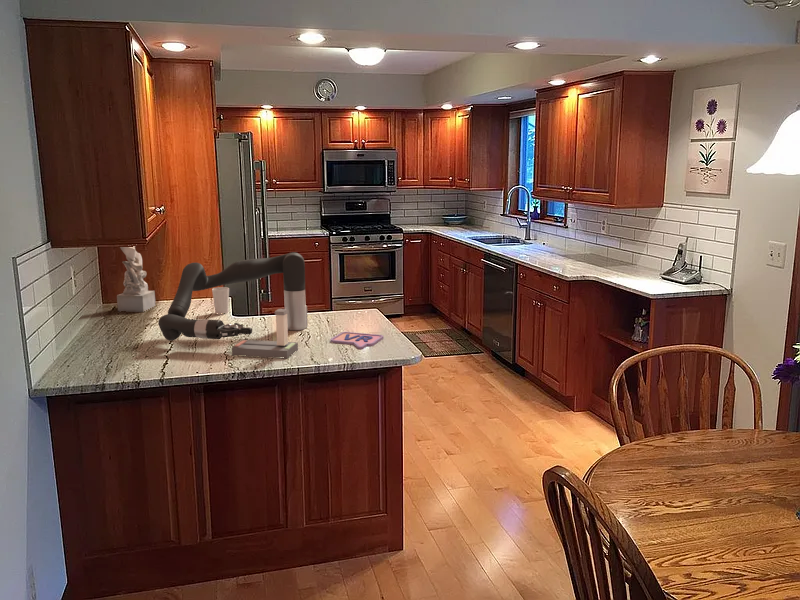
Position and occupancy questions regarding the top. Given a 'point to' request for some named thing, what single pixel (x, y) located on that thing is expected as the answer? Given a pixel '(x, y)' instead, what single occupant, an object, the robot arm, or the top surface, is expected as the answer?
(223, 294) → the cup
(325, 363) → the top surface
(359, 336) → the icon
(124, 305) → the sculpture
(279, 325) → the handle
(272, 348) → the switch base
